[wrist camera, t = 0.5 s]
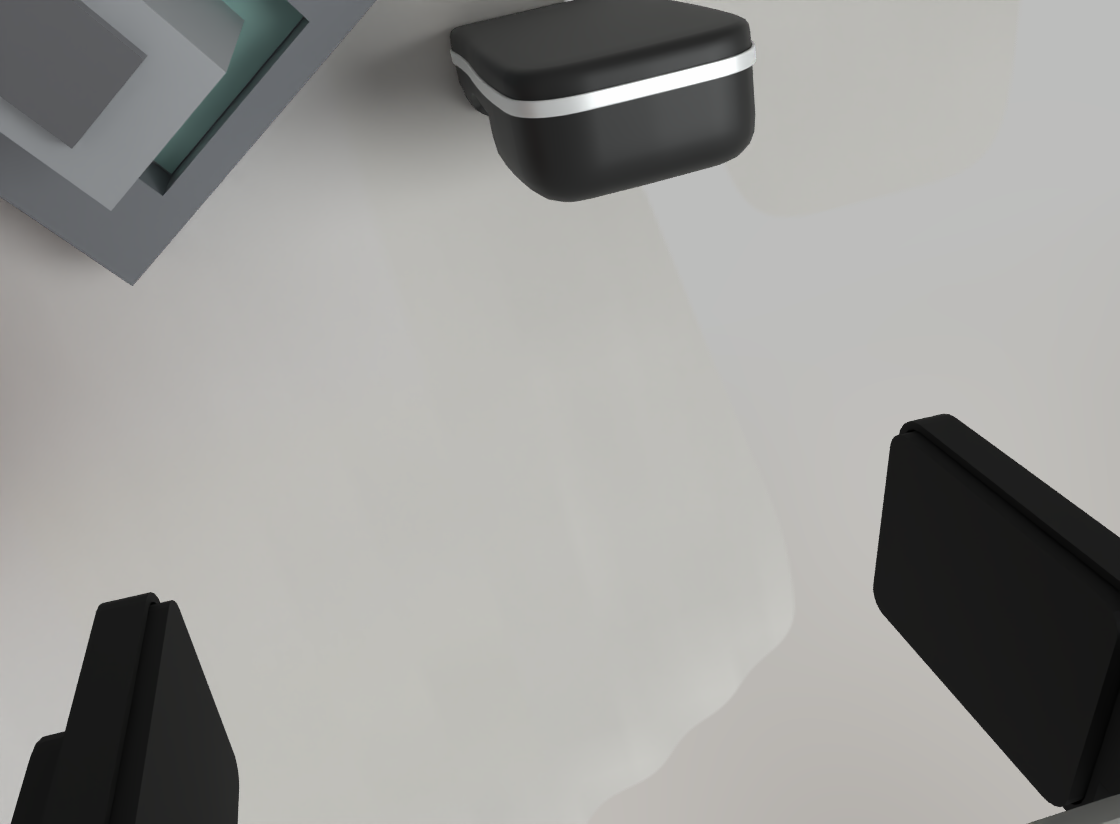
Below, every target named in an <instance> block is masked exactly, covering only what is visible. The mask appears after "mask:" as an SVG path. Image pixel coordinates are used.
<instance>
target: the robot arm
mask: <svg viewBox="0 0 1120 824" xmlns="http://www.w3.org/2000/svg"><path fill="white" fill-rule="evenodd" d="M873 592H874V597H875V600H876V603H877V605H878V607H879V609H880V611H881V612H882V614H883V615H884V616H885V617H886V618H887V619H888V621H889V622H890V623H891V624H892V625H893V626H894V627H895V628H896V630H897V631H898V632H899V633H900V634H901V635H902V637H903V638H904V639H905V640H906V641H907V642H908V643H909V644H910V646H911V647H912V648H913V649H914V650H915V651H916V652H917V654H918V655H919V656H920V657H921V658H922V659H923V661H924V662H925V663H926V664H927V665H928V666H929V667H930V668H931V669H932V671H933V672H934V673H935V674H936V675H937V676H938V678H939V679H940V680H941V681H942V682H943V683H944V684H945V686H946V687H947V688H948V689H949V690H950V691H951V693H952V694H953V695H954V696H955V697H956V698H957V699H958V700H959V701H960V703H961V704H962V705H963V706H964V707H965V709H966V710H967V711H968V712H969V713H970V714H971V715H972V717H973V718H974V719H975V720H976V721H977V722H978V723H979V725H980V726H981V727H982V728H983V729H984V730H985V731H986V732H987V734H988V735H989V736H990V737H991V738H992V739H993V741H994V742H995V743H996V744H997V745H998V746H999V747H1000V749H1001V750H1002V751H1003V752H1004V753H1005V754H1006V755H1007V757H1008V758H1009V759H1010V760H1011V761H1012V762H1013V763H1014V764H1015V766H1016V767H1017V768H1018V769H1019V770H1020V771H1021V773H1022V774H1023V775H1024V776H1025V777H1026V778H1027V779H1028V780H1029V782H1030V783H1031V784H1032V785H1033V786H1034V787H1035V788H1036V790H1037V791H1038V792H1039V793H1040V794H1041V795H1042V796H1043V797H1044V798H1045V799H1046V800H1047V801H1048V802H1049V803H1051V804H1053V805H1054V806H1058V807H1063V808H1064V809H1065V810H1066V811H1065V812H1062V813H1059V814H1056V815H1053V816H1049V817H1046V818H1043V819H1040V820H1037V821H1034V822H1031V823H1028V824H1120V537H1118V536H1117V535H1115V534H1114V533H1113V532H1111V531H1110V530H1108V529H1107V528H1106V527H1105V526H1103V525H1102V524H1100V523H1099V522H1098V521H1096V520H1095V519H1093V518H1092V517H1091V516H1089V515H1088V514H1087V513H1085V512H1084V511H1083V510H1081V509H1080V508H1078V507H1077V506H1076V505H1074V504H1073V503H1072V502H1070V501H1069V500H1068V499H1066V498H1065V497H1063V496H1062V495H1061V494H1059V493H1058V492H1057V491H1055V490H1054V489H1052V488H1051V487H1050V486H1048V485H1047V484H1046V483H1044V482H1043V481H1042V480H1040V479H1039V478H1038V477H1036V476H1035V475H1033V474H1032V473H1031V472H1029V471H1028V470H1027V469H1025V468H1024V467H1022V466H1021V465H1020V464H1018V463H1017V462H1015V461H1014V460H1013V459H1011V458H1010V457H1009V456H1007V455H1006V454H1005V453H1003V452H1002V451H1001V450H999V449H998V448H996V447H995V446H993V445H992V444H991V443H990V442H988V441H987V440H986V439H984V438H983V437H981V436H980V435H978V434H977V433H976V432H975V431H973V430H972V429H970V428H969V427H967V426H966V425H965V424H963V423H962V422H961V421H959V420H958V419H957V418H955V417H954V416H951V415H950V414H940V415H936V416H932V417H927V418H923V419H918V420H914V421H910V422H907V423H905V424H904V425H903V426H902V428H901V430H900V433H899V435H897V436H895V437H894V438H893V439H892V442H891V446H890V453H889V461H888V469H887V477H886V486H885V494H884V502H883V510H882V518H881V527H880V535H879V543H878V551H877V559H876V568H875V576H874V584H873ZM238 801H239V776H238V768H237V763H236V759H235V756H234V752H233V750H232V747H231V744H230V742H229V739H228V737H227V734H226V731H225V729H224V726H223V723H222V721H221V718H220V715H219V713H218V710H217V707H216V705H215V702H214V699H213V697H212V694H211V691H210V689H209V686H208V684H207V681H206V678H205V676H204V673H203V670H202V668H201V665H200V662H199V660H198V657H197V654H196V652H195V649H194V646H193V644H192V641H191V638H190V636H189V633H188V631H187V628H186V625H185V623H184V620H183V617H182V615H181V612H180V609H179V607H178V605H177V603H176V602H175V601H173V600H171V601H167V602H162V603H160V601H159V599H158V597H157V596H156V595H155V594H154V593H152V592H150V593H145V594H141V595H137V596H132V597H128V598H123V599H119V600H114V601H110V602H106V603H102V604H101V605H99V606H98V609H97V611H96V615H95V618H94V622H93V626H92V630H91V634H90V638H89V641H88V645H87V649H86V653H85V657H84V661H83V665H82V668H81V672H80V676H79V680H78V684H77V688H76V691H75V695H74V699H73V703H72V707H71V711H70V714H69V718H68V722H67V726H66V730H65V732H61V733H57V734H53V735H49V736H44V737H42V738H41V739H40V740H39V741H38V742H37V743H36V745H35V747H34V749H33V752H32V754H31V757H30V760H29V763H28V767H27V770H26V774H25V777H24V780H23V784H22V787H21V791H20V794H19V797H18V801H17V804H16V808H15V811H14V814H13V818H12V821H11V824H238Z"/></svg>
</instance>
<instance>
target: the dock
mask: <svg viewBox="0 0 1120 824" xmlns="http://www.w3.org/2000/svg"><path fill="white" fill-rule="evenodd" d="M375 1H376V0H0V197H1V198H3V199H4V200H6V201H7V202H9V203H10V204H12V205H13V206H15V207H16V208H18V209H19V210H21V211H22V212H24V213H25V214H27V215H28V216H29V217H31V218H32V219H34V220H35V221H37V222H38V223H40V224H41V225H43V226H44V227H46V228H47V229H49V230H50V231H52V232H53V233H55V234H56V235H58V236H59V237H61V238H62V239H63V240H65V241H66V242H68V243H69V244H71V245H72V246H74V247H75V248H77V249H78V250H80V251H81V252H83V253H84V254H86V255H87V256H89V257H90V258H92V259H93V260H95V261H96V262H98V263H99V264H100V265H102V266H103V267H105V268H106V269H108V270H109V271H111V272H112V273H114V274H115V275H117V276H118V277H120V278H121V279H123V280H124V281H126V282H127V283H129V284H130V285H132V286H133V285H134V284H135V283H136V282H137V280H138V279H139V278H140V277H141V276H142V274H143V273H144V272H145V271H146V270H147V269H148V267H149V266H150V265H151V264H152V263H153V262H154V260H155V259H156V258H157V257H158V256H159V255H160V253H161V252H162V251H163V250H164V249H165V248H166V246H167V245H168V244H169V243H170V242H171V240H172V239H173V238H174V237H175V236H176V235H177V233H178V232H179V231H180V230H181V229H182V228H183V226H184V225H185V224H186V223H187V222H188V221H189V219H190V218H191V217H192V216H193V215H194V214H195V212H196V211H197V210H198V209H199V208H200V206H201V205H202V204H203V203H204V202H205V201H206V199H207V198H208V197H209V196H210V195H211V194H212V192H213V191H214V190H215V189H216V188H217V187H218V185H219V184H220V183H221V182H222V181H223V180H224V178H225V177H226V176H227V175H228V174H229V172H230V171H231V170H232V169H233V168H234V167H235V165H236V164H237V163H238V162H239V161H240V160H241V158H242V157H243V156H244V155H245V154H246V153H247V151H248V150H249V149H250V148H251V147H252V146H253V144H254V143H255V142H256V141H257V140H258V138H259V137H260V136H261V135H262V134H263V133H264V131H265V130H266V129H267V128H268V127H269V126H270V124H271V123H272V122H273V121H274V120H275V119H276V117H277V116H278V115H279V114H280V113H281V112H282V110H283V109H284V108H285V107H286V106H287V104H288V103H289V102H290V101H291V100H292V99H293V97H294V96H295V95H296V94H297V93H298V92H299V90H300V89H301V88H302V87H303V86H304V85H305V83H306V82H307V81H308V80H309V79H310V78H311V76H312V75H313V74H314V73H315V72H316V70H317V69H318V68H319V67H320V66H321V65H322V63H323V62H324V61H325V60H326V59H327V58H328V56H329V55H330V54H331V53H332V52H333V51H334V49H335V48H336V47H337V46H338V45H339V44H340V42H341V41H342V40H343V39H344V38H345V36H346V35H347V34H348V33H349V32H350V31H351V29H352V28H353V27H354V26H355V25H356V24H357V22H358V21H359V20H360V19H361V18H362V17H363V15H364V14H365V13H366V12H367V11H368V10H369V8H370V7H371V6H372V5H373V4H374V2H375Z"/></svg>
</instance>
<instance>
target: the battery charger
mask: <svg viewBox="0 0 1120 824" xmlns="http://www.w3.org/2000/svg"><path fill="white" fill-rule="evenodd" d="M450 40H451V46H452V49H451V50H450V53H451V58H452V62H453V63H454V64H455V65H456V68H457V73H458V77H459V82H460V84H461V86H462V88H463V90H464V93H465V95H466V97H467V99H468V100H469V102H470V103H471V104H472V106H473V107H474V108H475V109H476V110H478V111H479V112H481V113H483V114H485V115H488V116H489V120H490V124H491V129H492V134H493V138H494V141H495V144H496V147H497V150H498V153H499V155H500V156H501V158H502V159H503V161H504V162H505V164H506V165H507V166H508V168H509V169H510V170H511V171H512V172H513V174H514V175H515V176H516V177H518V178H519V179H520V180H521V181H522V182H523V183H524V184H525V185H526V186H528V187H529V188H530V189H531V190H533V191H535V192H536V193H538V194H540V195H541V196H543V197H545V198H547V199H550V200H555V201H562V202H575V201H581V200H586V199H591V198H595V197H599V196H603V195H607V194H611V193H615V192H618V191H622V190H626V189H630V188H634V187H638V186H642V185H646V184H650V183H654V182H657V181H661V180H665V179H668V178H673V177H676V176H680V175H684V174H687V173H691V172H694V171H698V170H702V169H706V168H710V167H713V166H717V165H720V164H722V163H725V162H727V161H729V160H731V159H733V158H735V157H737V156H738V155H739V154H740V153H741V152H742V151H743V150H744V149H745V148H746V147H747V146H748V145H749V144H750V141H751V139H752V136H753V133H754V127H755V104H754V87H753V70H752V65H753V64H754V63H755V61H756V47H755V43H754V41H752V40H751V37H750V28H749V24H748V22H747V21H746V19H744V18H742V17H739V16H737V15H735V14H731V13H728V12H724V11H720V10H716V9H712V8H708V7H703V6H699V5H694V4H689V3H683V2H678V1H672V0H573V1H569V2H564V3H560V4H555V5H551V6H546V7H542V8H538V9H533V10H529V11H525V12H520V13H516V14H512V15H507V16H503V17H499V18H494V19H490V20H486V21H481V22H477V23H473V24H469V25H464V26H460V27H457V28H455V29H454V30H453V31H452V32H451V35H450Z"/></svg>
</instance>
